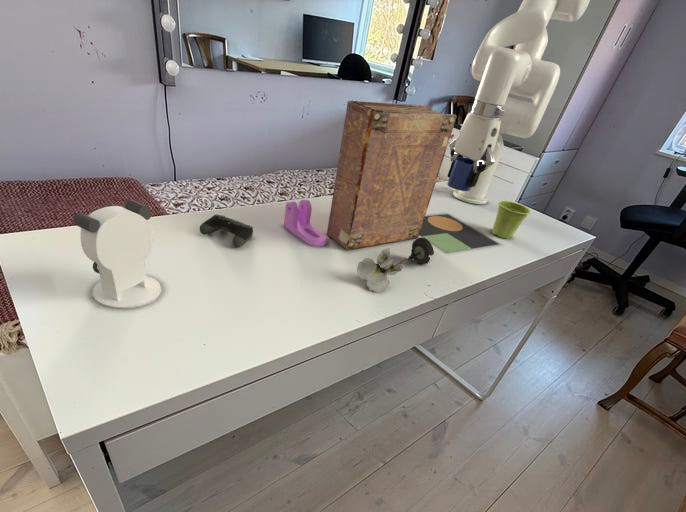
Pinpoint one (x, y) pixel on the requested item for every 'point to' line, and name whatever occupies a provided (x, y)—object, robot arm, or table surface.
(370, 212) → the book
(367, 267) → the artificial flower
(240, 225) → the gaming controller
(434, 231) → the desk mat
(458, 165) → the blue cup
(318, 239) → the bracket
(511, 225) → the plant pot
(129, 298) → the white rounded piece
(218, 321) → the table surface
